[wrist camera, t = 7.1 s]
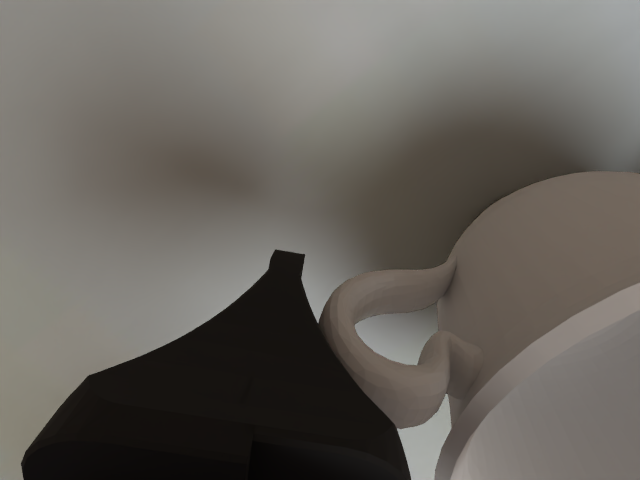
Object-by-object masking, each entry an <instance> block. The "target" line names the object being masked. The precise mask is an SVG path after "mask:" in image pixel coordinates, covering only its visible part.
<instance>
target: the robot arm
mask: <svg viewBox="0 0 640 480" xmlns="http://www.w3.org/2000/svg"><path fill="white" fill-rule="evenodd" d="M304 258H305V254H299V253H293V252H287V251H281V250H275V251H274V253H273V255H272V257H271V259H270V264H269V269H268V271H267V272H266V273H265V274H264V275H263V276H262V277H261V278H260V279H259V280H258V281H257V282H256V283H255V284H254V285H253V286H252V287H251V288H250V289H249V290H247V291H246V292H245V293H244V294H243V295H242V296H241V297H239V298H238V299H237V300H236V301H235V302H233V303H232V304H231V305H230V306H228V307H227V308H226V309H224V310H223V311H222V312H220V313H219V314H217V315H216V316H215V317H213V318H212V319H210V320H209V321H207V322H205V323H204V324H202V325H201V326H199V327H197V328H196V329H194V330H193V331H191V332H189V333H187V334H186V335H184V336H182V337H180V338H178V339H176V340H174V341H172V342H170V343H168V344H166V345H164V346H162V347H160V348H158V349H156V350H153V351H151V352H149V353H147V354H144V355H142V356H140V357H137V358H135V359H132V360H129V361H127V362H124V363H122V364H119V365H116V366H114V367H111V368H108V369H106V370H103V371H100V372H97V373H94V374H91V375H89V376H88V377H87V378H86V379H85V380H84V381H83V382H82V383H81V385H80V386H79V387H78V388H77V389H76V390H75V391H74V392H73V393H72V394H71V395H70V396H69V397H68V398H67V399H66V400H65V402H64V403H63V404H62V405H61V406H60V407H59V409H58V410H57V411H56V413H55V414H54V415H53V417H52V418H51V419H50V420H49V422H48V423H47V424H46V426H45V427H44V428H43V430H42V431H41V432H40V433H39V435H38V436H37V437H36V439H35V440H34V441H33V443H32V444H31V445H30V446H29V448H28V449H27V450H26V452H25V455H24V457H23V460H22V462H21V466H22V472H23V478H24V480H411V476H410V472H409V468H408V464H407V460H406V457H405V453H404V450H403V446H402V443H401V440H400V437H399V434H398V431H397V429H396V426H395V424H394V423H393V422H392V421H391V420H390V419H389V418H388V417H387V415H386V414H385V413H384V412H383V411H382V410H381V409H380V408H379V407H378V406H377V405H376V404H375V403H374V402H373V401H372V400H371V399H370V398H369V397H368V396H367V395H366V394H365V393H364V392H363V390H362V389H361V388H360V387H359V386H358V384H357V383H356V382H355V381H354V380H353V378H352V377H351V376H350V374H349V373H348V371H347V370H346V369H345V367H344V366H343V364H342V363H341V362H340V360H339V359H338V357H337V356H336V355H335V353H334V352H333V350H332V348H331V347H330V345H329V343H328V342H327V340H326V338H325V336H324V335H323V333H322V331H321V329H320V327H319V325H318V323H317V321H316V319H315V317H314V314H313V312H312V309H311V307H310V305H309V302H308V299H307V297H306V293H305V290H304V287H303V284H302V280H301V276H302V270H303V264H304Z"/></svg>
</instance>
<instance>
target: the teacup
mask: <svg viewBox="0 0 640 480" xmlns="http://www.w3.org/2000/svg"><path fill="white" fill-rule="evenodd" d="M435 302H437V316H438V330H439V331H438V332H436V333H435V334H433V335H432V336H431V337H430V339H429V340H428V341H427V343H426V344H425V346H424V348H423V350H422V352H421V355H420V358H419V361H418V365H405V364H402V363H398V362H395V361H391V360H389V359H387V358H385V357H383V356H381V355H379V354H377V353H375V352H374V351H373V350H372V349H370V348H369V347H368V346H367V345H366V344H365V343H364V342H363V341H362V340H361V338H360V337H359V336H358V335H357V333H356V330H355V327H354V325H355V324H356V323H358V322H359V321H361V320H363V319H366V318H368V317H371V316H376V315H380V314H393V313H408V312H412V311H417V310H421V309H424V308H426V307H428V306H430V305H432V304H434V303H435ZM318 325H319V327H320V329H321V331H322V333H323V335H324V336H325V338H326V340H327V342H328V343H329V345H330V347H331V348H332V350H333V352H334V353H335V355H336V356H337V357H338V359H339V360H340V362H341V363H342V364H343V366H344V367H345V369H346V370H347V371H348V373H349V374H350V376H351V377H352V378H353V380H354V381H355V382H356V383H357V384H358V386H359V387H360V388H361V389H362V390H363V392H364V393H365V394H366V395H367V396H368V397H369V398H370V399H371V400H372V401H373V402H374V403H375V404H376V405H377V406H378V407H379V408H380V409H381V410H382V411H383V412H384V413H385V414H386V415H387V417H388V418H389V419H390V420H391V421H392V422H393V423H394V424H395V426H396V428H398V429H403V428H408V427H414V426H418V425H421V424H423V423H425V422H426V421H428V420H429V419H430V418H431V417H432V416H433V415H434V414H435V413H436V412H437V411H438V409H439V407H440V405H441V403H442V401H443V399H444V397H445V394H446V393H447V394H448V398H449V404H450V415H451V426H452V429H451V431H450V433H449V435H448V437H447V439H446V441H445V443H444V445H443V447H442V449H441V453H440V456H439V459H438V463H437V466H436V469H435V480H640V174H638V173H633V172H611V171H590V172H579V173H573V174H567V175H562V176H557V177H553V178H550V179H546V180H543V181H540V182H537V183H533V184H531V185H529V186H526V187H524V188H522V189H519V190H517V191H515V192H513V193H511V194H510V195H508V196H506V197H503V198H502V199H500V200H498V201H496V202H495V203H493V204H492V205H491V206H489V207H488V208H487V209H485V210H484V211H483V212H482V213H481V214H480V215H479V216H478V217H477V218H476V219H475V220H474V221H473V222H472V223H471V225H470V226H469V227H468V228H467V229H466V230H465V231H464V233H463V234H462V235H461V237H460V238H459V240H458V241H457V242H456V244H455V246H454V248H453V250H452V251H451V253H450V255H449V257H448V259H447V261H446V262H445V263H444V264H442V265H439V266H437V267H434V268H430V269H421V270H398V269H390V270H380V271H371V272H367V273H362V274H360V275H358V276H355V277H353V278H351V279H348V280H347V281H345V282H344V283H343V284H342V285H340V286H339V287H338V288H337V289H336V290H335V291H334V292H333V293H332V295H331V296H330V298H329V299H328V301H327V302H326V304H325V306H324V309H323V311H322V314H321V316H320V319H319V324H318Z"/></svg>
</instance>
